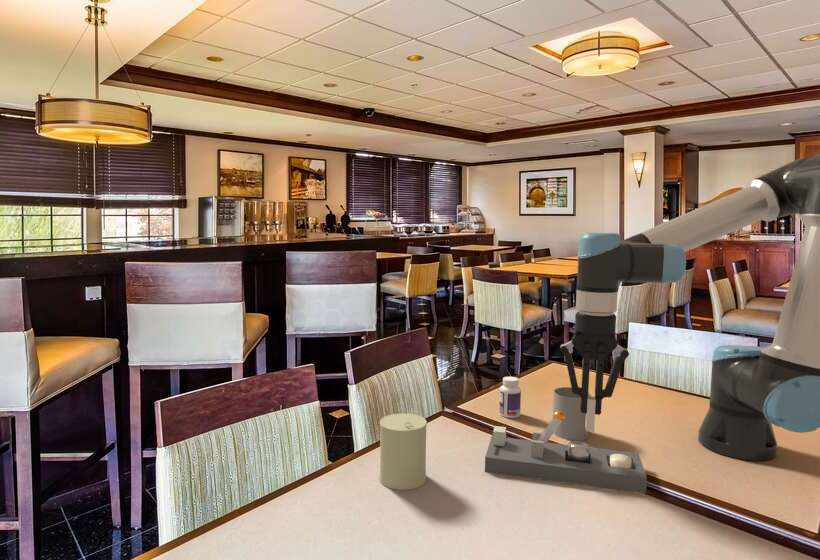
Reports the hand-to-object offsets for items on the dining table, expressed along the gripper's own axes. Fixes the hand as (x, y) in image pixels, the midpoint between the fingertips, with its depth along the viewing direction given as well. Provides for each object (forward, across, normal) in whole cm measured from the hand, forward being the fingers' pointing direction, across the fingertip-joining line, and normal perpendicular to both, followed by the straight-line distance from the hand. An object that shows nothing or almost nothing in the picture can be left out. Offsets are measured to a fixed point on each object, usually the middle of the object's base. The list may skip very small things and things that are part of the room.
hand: (589, 428), depth 105 cm
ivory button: (+9, -6, 0) cm, 11 cm away
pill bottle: (+9, +18, -28) cm, 35 cm away
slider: (+6, +18, -2) cm, 19 cm away
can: (+10, +35, +13) cm, 38 cm away
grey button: (+7, +2, 0) cm, 7 cm away
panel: (+9, +5, 0) cm, 10 cm away
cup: (+9, +3, -20) cm, 22 cm away
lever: (+5, +10, 0) cm, 11 cm away
